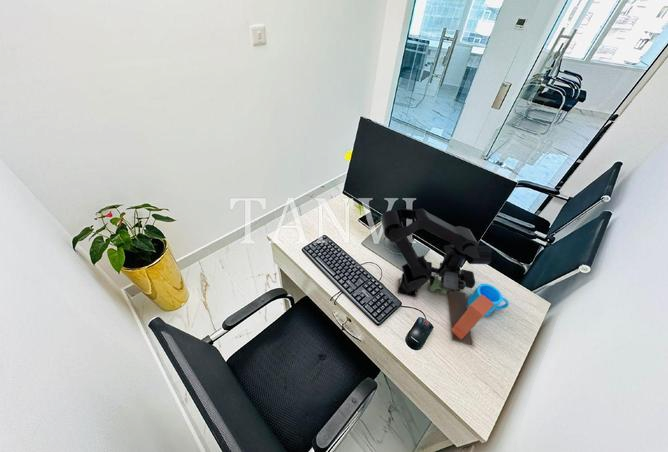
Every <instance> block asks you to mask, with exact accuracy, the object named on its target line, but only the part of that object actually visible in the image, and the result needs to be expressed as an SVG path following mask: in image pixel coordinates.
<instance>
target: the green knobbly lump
mask: <svg viewBox="0 0 668 452" xmlns="http://www.w3.org/2000/svg"><path fill="white" fill-rule="evenodd" d="M439 278H440V277H439V275H435V280H433V283H432V285H431V286H430V285H429V291H430V292H436V290H440V294H443V295H446V294H447V293H448V291H446V290H442V289H441V288H440V285H441V279H439Z"/></svg>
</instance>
